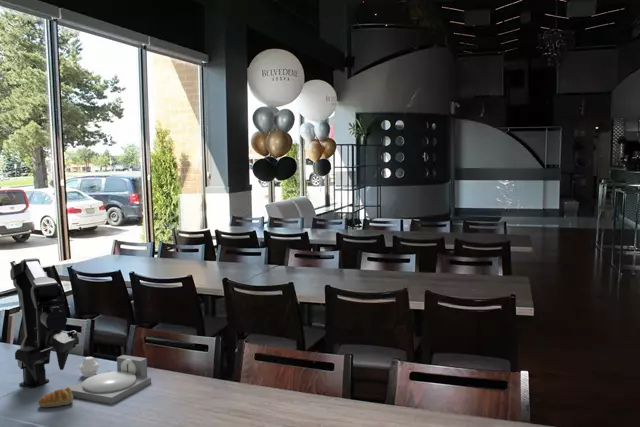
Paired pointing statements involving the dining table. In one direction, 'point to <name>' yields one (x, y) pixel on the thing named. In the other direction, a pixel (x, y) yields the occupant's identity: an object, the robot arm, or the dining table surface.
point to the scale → (115, 381)
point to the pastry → (57, 398)
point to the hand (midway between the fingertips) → (49, 374)
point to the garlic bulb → (89, 367)
